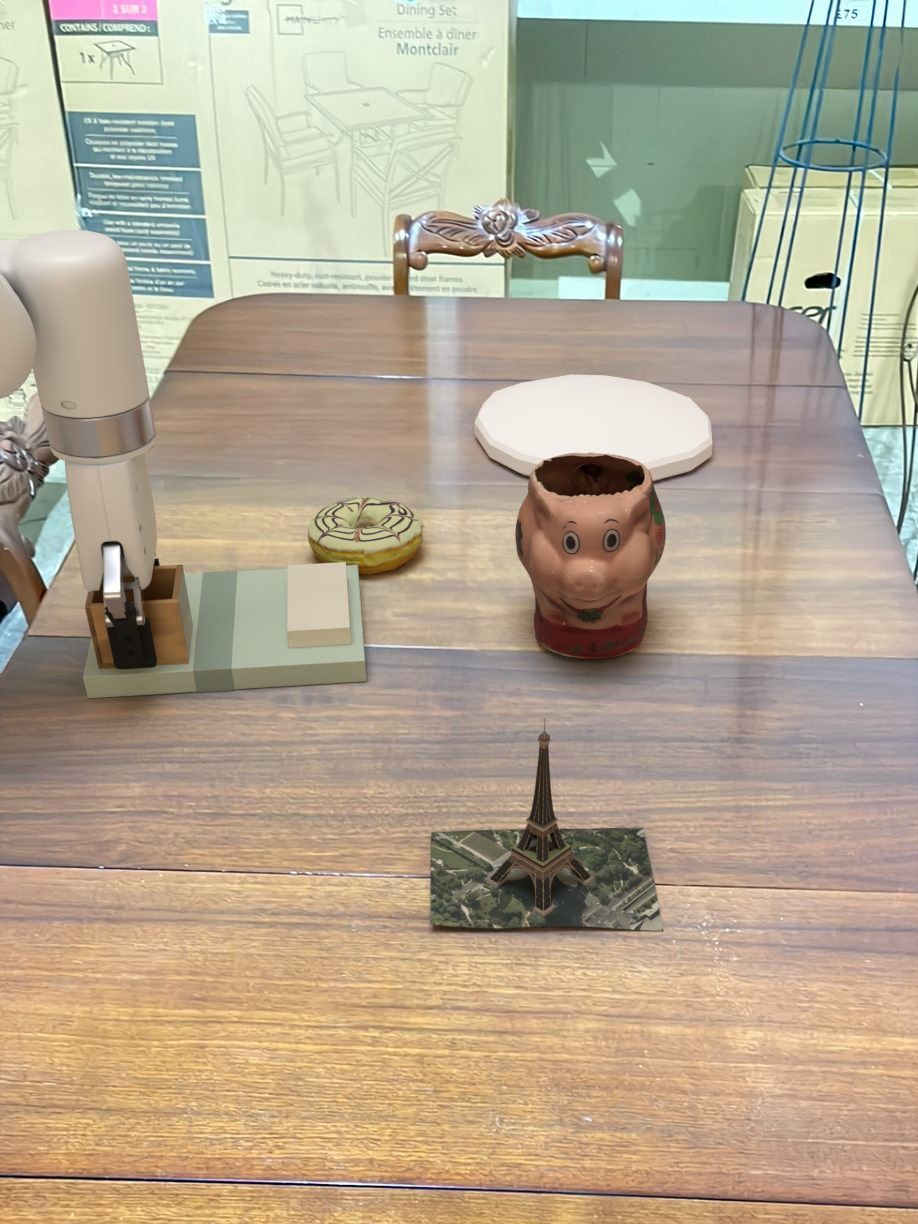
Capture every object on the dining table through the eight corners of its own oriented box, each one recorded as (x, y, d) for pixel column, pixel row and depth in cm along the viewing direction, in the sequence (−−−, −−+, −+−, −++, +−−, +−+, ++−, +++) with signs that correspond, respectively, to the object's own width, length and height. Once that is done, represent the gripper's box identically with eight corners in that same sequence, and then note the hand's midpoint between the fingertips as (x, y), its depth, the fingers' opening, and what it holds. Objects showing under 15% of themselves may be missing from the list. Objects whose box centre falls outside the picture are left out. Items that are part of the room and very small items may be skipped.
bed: (87, 699, 107) (78, 659, 105) (108, 598, 119) (99, 560, 117) (366, 682, 109) (363, 642, 107) (359, 585, 121) (356, 547, 119)
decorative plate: (762, 421, 138) (547, 468, 130) (757, 460, 141) (546, 509, 132) (634, 343, 155) (437, 380, 146) (632, 380, 158) (438, 418, 149)
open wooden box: (98, 669, 107) (84, 606, 103) (106, 630, 111) (92, 569, 108) (188, 663, 107) (177, 601, 104) (192, 625, 112) (182, 564, 108)
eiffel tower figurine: (646, 832, 95) (661, 667, 86) (663, 931, 87) (681, 761, 78) (431, 836, 94) (424, 671, 86) (429, 935, 87) (421, 765, 78)
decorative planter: (508, 569, 123) (509, 418, 114) (642, 566, 124) (653, 416, 115) (521, 689, 108) (523, 527, 99) (673, 685, 109) (689, 523, 100)
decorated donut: (429, 527, 129) (428, 490, 127) (418, 582, 121) (416, 543, 119) (320, 524, 130) (317, 486, 127) (302, 578, 122) (298, 539, 119)
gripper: (61, 380, 103) (104, 584, 115) (29, 478, 90) (81, 697, 102) (162, 376, 104) (195, 580, 115) (144, 473, 91) (183, 691, 102)
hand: (141, 634), depth 108 cm, fingers open, 9 cm apart
